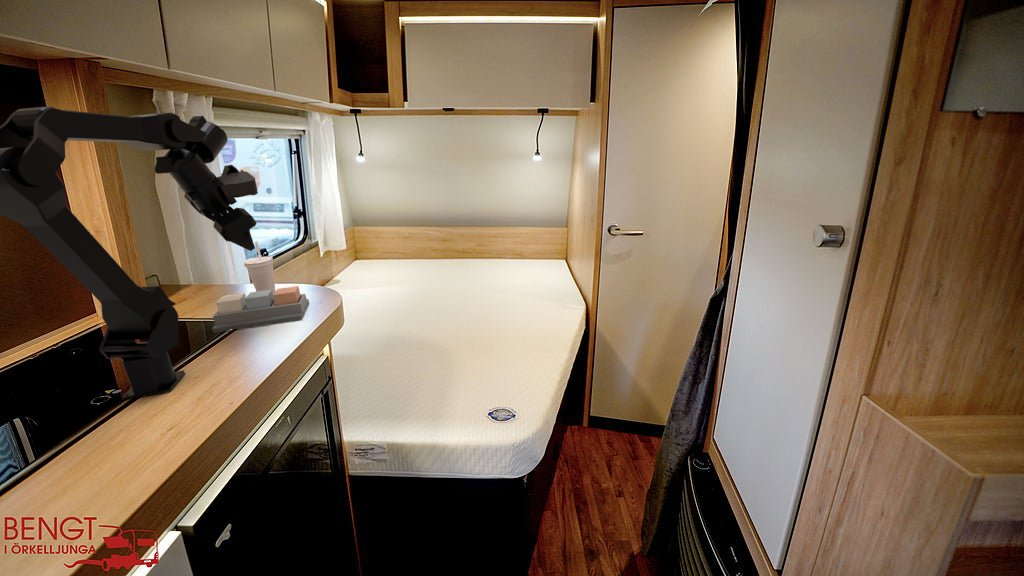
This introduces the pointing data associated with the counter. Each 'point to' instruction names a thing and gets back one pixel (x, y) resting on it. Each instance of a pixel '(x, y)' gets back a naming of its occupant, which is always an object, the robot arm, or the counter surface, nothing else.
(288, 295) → the key terracotta
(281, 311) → the keypad
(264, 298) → the key slate
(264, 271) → the smoothie
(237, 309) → the key ivory
